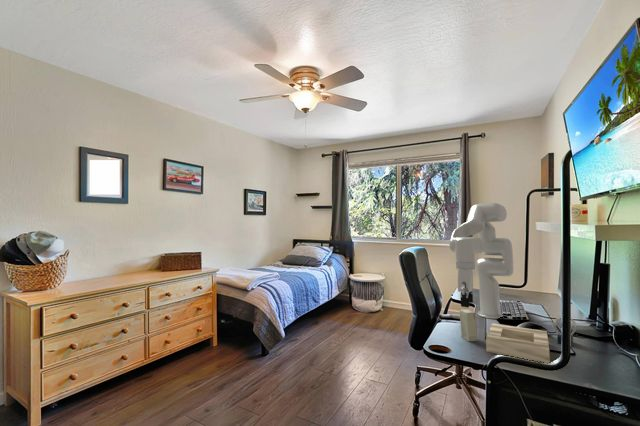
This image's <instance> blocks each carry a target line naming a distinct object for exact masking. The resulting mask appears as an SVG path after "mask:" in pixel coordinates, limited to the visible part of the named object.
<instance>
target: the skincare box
mask: <svg viewBox="0 0 640 426" xmlns="http://www.w3.org/2000/svg"><path fill="white" fill-rule="evenodd" d="M459 319H460V321H459V323H460V334H461V338H462V339H464V340H466V341H467V342H478V328H477V327H478V326H477V313H476V312H475V311H473V310H471V309H469V308H467V309H459Z"/></svg>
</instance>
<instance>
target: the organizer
mask: <svg viewBox="0 0 640 426" xmlns="http://www.w3.org/2000/svg"><path fill="white" fill-rule="evenodd" d="M485 345H486V352H487V353H490V354H496V355H501V354H503V355H502V356H506V355H509V356H508V357H511V356H514V357H513V358H517V357H519V358H518V359H522V358H524V359H523V360H527V359H528V361H532V360H534V361H533V362H537V361H538V362H539V363H543V362H544V363H543V364H548V362H550V363H551V356H550V347H549V345H550V343H549V337H548V331H547V330H542V329H534V328H533V329H532V328H527V327H520V326H513V325H512V326H511V325H506V324H500V323H499V324H498V323H491V324H490V328H489V330H488V332H487V336H486V338H485ZM540 361H541V362H540Z"/></svg>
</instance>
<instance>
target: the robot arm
mask: <svg viewBox="0 0 640 426" xmlns="http://www.w3.org/2000/svg"><path fill="white" fill-rule="evenodd" d="M507 214H508V213H507V209H506V207H505V206H504V205H503V204H500V203H497V202H489V203H487V202H485V203H476V204H473V205H472V206H471V207H470V209H469V211H468V215H467V218H466V220H465V221H466V222H464V223H462V224H461V225H459V226H457V227H456V228H455V229H454V230H453V231H452V233H451V236H450V240H449V249H450V250H451V252H452V253H455V265H456V267H455V269H456V270H457V292H459V293H460V306H461V307H462V308H470V304H471V303H472V304H473V303H474V295H473V289H474V276H473V270H476V272H477V276H478V285H479V287H478V288H479V289H478V290H479V305H480V306H479V308H480V310H478V311H477V313H476V314H477V315H478V316H479V317H482V318H486V319H492V320H495V319H497V320H499V319H498V318H500V317H502V316H503V315H502V314H503V313H502V312H501V302H500V301H501V300H500V298H501V297H500V284H499V282H498V280H497V279H496V278H495V276H497V277H511V276H513V274H514V257H513V256H514V255H513V254H514V253H513V245H512V242H511V240H510V239H509V238H505V237H497V236H496V234H497V233H496V228H495V226H494V225H493V224H492V223H496V222H498V223H499V222H504V221H505V220H506V219H507ZM476 234H477V237H475V236H473V235H476ZM475 254H481V255H483V256H497V257H496V258H495V257H480V258H478V259H477V260H476V261H475ZM499 256H500V257H499ZM501 257H502V258H501ZM500 319H501V318H500Z"/></svg>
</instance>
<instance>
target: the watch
mask: <svg viewBox="0 0 640 426" xmlns="http://www.w3.org/2000/svg"><path fill="white" fill-rule="evenodd" d="M561 316H562V315H560V316H559V315H558V316H557V317H556V318H555V320H553V323H552V325H551V326H552V328H553V330H554V332H556V334H557V337H556V338H557V345H561V333H562V332H560V331H559V330H558V329H557V328H556V327H557V326H558V325H559V324H560V322H562V320H561ZM570 322H571V323H573V325H574V326H573V329H572V331H571V332H570V333H571V346H570V347H572V346H573V344H574V334H575V332H576V331H577V328H578V327H577V323H576V321H575V320H574V319H573V318H571V321H570Z"/></svg>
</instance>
